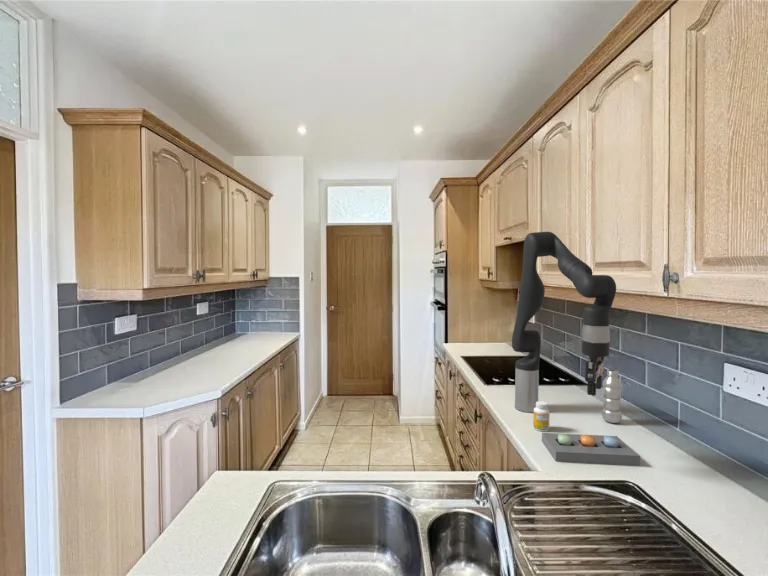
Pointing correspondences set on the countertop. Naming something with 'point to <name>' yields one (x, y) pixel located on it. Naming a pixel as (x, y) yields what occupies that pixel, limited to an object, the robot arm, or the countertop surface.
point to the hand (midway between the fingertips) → (594, 391)
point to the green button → (564, 439)
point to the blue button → (611, 441)
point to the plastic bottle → (612, 397)
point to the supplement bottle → (541, 416)
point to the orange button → (587, 441)
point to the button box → (590, 451)
